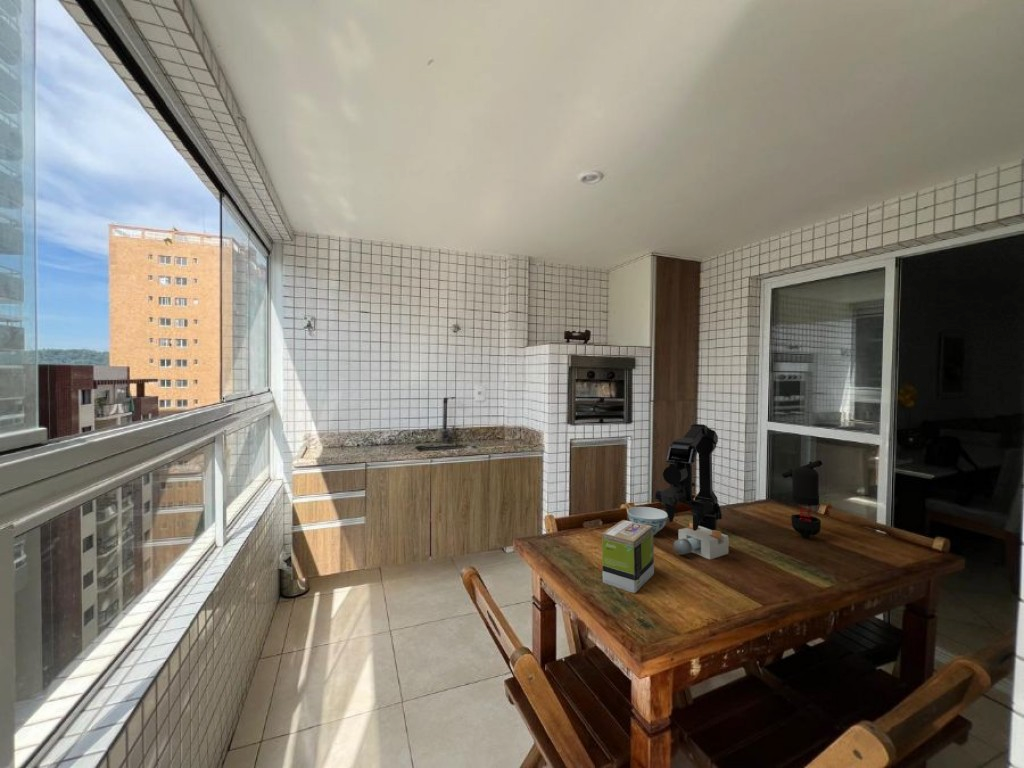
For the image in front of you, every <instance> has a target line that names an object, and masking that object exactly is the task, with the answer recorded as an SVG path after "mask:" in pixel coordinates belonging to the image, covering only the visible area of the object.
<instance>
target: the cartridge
mask: <svg viewBox="0 0 1024 768" xmlns="http://www.w3.org/2000/svg"><path fill="white" fill-rule="evenodd" d="M699 548H701V540H699V539H696V538H693V537H692V538H688V539H685V538H683V539H679V538H678V539H676V540H675V541H674V542H673V549H674V550H675V552H676V553H677V554H679V555H686V554H689V553H692V552H691V551H692V550H695V549H699Z"/></svg>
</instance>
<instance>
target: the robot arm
mask: <svg viewBox="0 0 1024 768" xmlns="http://www.w3.org/2000/svg"><path fill="white" fill-rule="evenodd" d="M718 443H719V436H718V434H717V432H716V431H715V430H714V429H712V428H710V427H708V426H707V425H706V424H702V423H700V424H699V423H694V424H691V425H690V428H689V430H687V431H686V433H685V435H684V436H683V437H681V438H676V439H674V440H673V441H672V442H671V443H670V445H669V447H668V453H667V457H666V462H667V463H668V465H669V466H668V467H665V468H664V470H663V472H662V477H663V479H664V481H665V482H666V483H668V484H669V487H668V488H664V489H658V490H656V492H655V493H654V498H655V500H657V501H658V502H659V503H661V505H662V506H663V507H664V510H665V512H666V513H667V515H668V521H669V523H673V522H674V519H675V518H674V517H675V509H676V506H677V503H679V504H684V505H688V506H690V508H691V509H692V510H690V513H691V515H692V522H693V530H694V531H696V530H697V528H698V526H701V527H704V528H707V529H710V530H717V529H718V528H717V525H718V524H717V521H718V520H722V519H723V515H722V508H721V507H720V504H719V502H718V497H717V495H716V494H715V492H714V489H713V488H714V487H713V486H714V485H713V452H714V451H715V450H716V448H717V444H718ZM697 454H698V479H699V480H698V483H699V484H698V485H699V486H698V487H699V488H698V489H699V491H698V493H697V494H696V495H695V494H693V487H695V486H696V485H695V484H696V483H695V482H693V464H694V463H695V461H696V458H697Z"/></svg>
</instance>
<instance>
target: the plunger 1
mask: <svg viewBox="0 0 1024 768" xmlns="http://www.w3.org/2000/svg"><path fill="white" fill-rule="evenodd" d="M688 528H689V529H692V530H693V521H692V522H689V527H688ZM697 530H698V528H697Z"/></svg>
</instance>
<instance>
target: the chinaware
mask: <svg viewBox="0 0 1024 768" xmlns="http://www.w3.org/2000/svg"><path fill="white" fill-rule="evenodd" d="M627 517H628V519H629V520H628V521H631V522H635V523H640V524H645V525H650V526H653V536H655V535H657V533H658V532H660V531H661V530H662V529H663V528H664V527H665V526H666V524H667V522H668V520H669V518H668V515H667V512H666V510H665V511H664V510H662V509H659V508H656V507H655V508H654V507H649V506H632V507H630V508H628V509H627Z"/></svg>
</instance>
